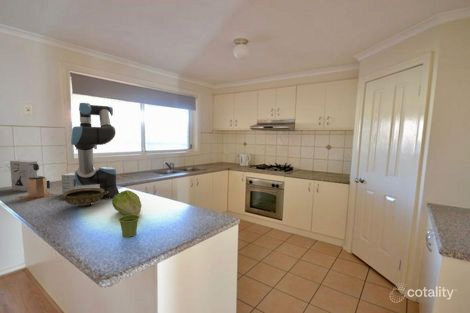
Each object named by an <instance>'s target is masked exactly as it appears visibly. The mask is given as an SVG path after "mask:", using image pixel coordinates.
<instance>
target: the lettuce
mask: <svg viewBox="0 0 470 313" xmlns="http://www.w3.org/2000/svg"><path fill="white" fill-rule="evenodd" d="M111 203H112V207H113V208H114V210H115V211H117V212H118V213H120V214H121V215H124V216H126V215H138V216H139V215H140V214H141V211H142V210H141V209H142V202H141V200H140V197H139V195H138V194H137V193H135V192H134V191H132V190H129V189H126V190H123V191H122V190H121V191H119V194H117V195H115V196H114V198H112V200H111Z"/></svg>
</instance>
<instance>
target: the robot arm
mask: <svg viewBox="0 0 470 313" xmlns="http://www.w3.org/2000/svg"><path fill="white" fill-rule="evenodd" d="M78 111H79V122H80V123H79V126H77V125H76V126H73V127H72V129H71V141H70V143H71V145H72V146H74V148H75V150H76V151H77V158H78V159H77V161H78V168H77V170H74V173H75V180H76V184H77V185H78V186H81V187H86V186H93V185H94V186H95V185H99V188H101V189H104V192H105V191H108V192H109V193H108V194H105V195H103V197H102V199H101V200H107V199H108V200H110V199H113V198H114V196H115V195H117V194H119V193H120V191H119V189H118V187H117V169H116V168H114V167H111V166H110V167H109V166H100V167H99V168H98V169H96V168H95V167H94V150H98V146H99V145H100V146H103V145H107V144H108V143H110V142H111V141H112V140H113V139H114V138H115V136H116V128H115V127H114V126H113V121H112V116H114V115H113V114H114V110H113V106H109V105H94V104H91V103H89V102H80V103H79V106H78ZM92 116H99V124H100V126H93V125H92ZM103 194H104V193H103Z"/></svg>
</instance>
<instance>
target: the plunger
mask: <svg viewBox="0 0 470 313" xmlns="http://www.w3.org/2000/svg"><path fill="white" fill-rule="evenodd" d="M33 170H35V172H36V177H38V176H39V174H38V175H37V170H38V171H39V170H40V165H39V163H38V162H37V164H33Z"/></svg>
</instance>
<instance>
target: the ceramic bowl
mask: <svg viewBox="0 0 470 313" xmlns="http://www.w3.org/2000/svg"><path fill="white" fill-rule="evenodd" d="M103 193H104V194H103ZM108 193H109V192H108V191H105V192H104V189H101V188H100V187H85V188H83V187H81V189H74V190H69V191H66V192H64V193H63V194H62V193H61V194H62V196H63V197H57V198H56V201H62V202H63V201H64V202H65V203H66V204H69V205H71V206H77V208H88V207H91V206H92V204H95V203H96V202H97V203H98V202H99V201H101V200H103V199H102V197H103V195H105V194H108Z"/></svg>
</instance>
